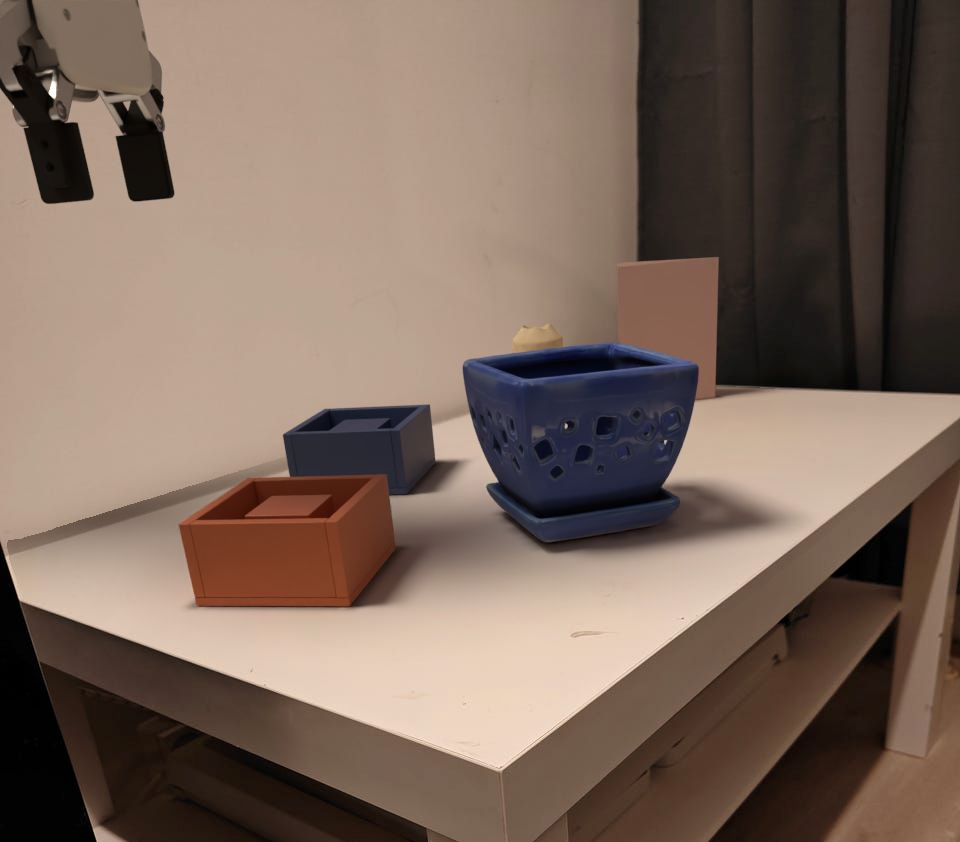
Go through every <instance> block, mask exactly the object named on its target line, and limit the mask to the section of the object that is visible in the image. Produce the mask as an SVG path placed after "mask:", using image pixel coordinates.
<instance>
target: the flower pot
mask: <svg viewBox="0 0 960 842" xmlns="http://www.w3.org/2000/svg"><path fill="white" fill-rule="evenodd" d="M698 376H699V367H698V365H697V364H696V363H694V362H691V361H688V360H685V359H681V358H678V357H675V356H671V355H667V354H664V353H660V352H656V351H652V350H648V349H644V348H640V347H636V346H632V345H627V344H621V343H619V342H604V343H593V344H579V345H577V344H576V345H569V346H563V347H560V348H551V349H543V350H535V351H527V352H520V353H513V352H512V353H506V354H496V355H490V356H483V357H477V358H469V359H466V360H465V361H464V362H463V364H462V378H463V384H464V389H465V390H464V391H465V396H466V400H467V401H466V402H467V405H468V410H469V415H470V419H471V422H472V425H473V429H474V432H475V434H476V438H477V441H478V443H479V446H480V448H481V450H482V453H483V455H484V458H485V459H486V462H487V464H488V466H489V468H490V469H491V471H492V473H493V475H494V477H495V478H496V480H497V482H489V483H487V484H486V486H485V488H486V491H487V493H488V495H489V496H490V497H491V498H492V500H493V501H494V503H496V504H497V505H498V506H499V507H500V508H501V509H502V510H503V511H504V512H506V514H508V515H509V516H510V517H512V519H514V521H516V522H517V523H519V524H520V525H521V526H522V527H523V528H524V529H526V530H527V531H528V532H529V533H531V534H532V535H533V536H534V537H536V538H537V539H538V540H540V541H541V542H543V543H545V544H550V543H555V542H561V541H568V540H575V539H582V538H589V537H594V536H600V535H601V536H602V535H607V534H612V533H617V532H618V533H619V532H625V531H630V530H635V529H641V528H650V527H652V526H656V525H659V524H662V523H663V522H665V521H666V520H668V519H669V518H670V517H672V515H673V514H674V513H675V512H676V511H677V510H678V509H679V507H680V505H681V503H682V500H681V497H679V496H678V495H676V494H674V493H673V492H671V491H669V490H667V489H665V488H663V486H664V484H665V483H666V481H667V480H668V478H669V476H670V474H671V473H672V471H673V469H674V467H675V465H676V464H677V463H676V462H677V460H678V459H679V456H680V454H681V451H682V448H683V445H684V443H685V440H686V437H687V435H688V431H689V428H690V424H691V420H692V417H693V411H694V408H695V407H694V406H695V403H696V399H695V397H696V392H697V385H698ZM665 441H666V442H665Z"/></svg>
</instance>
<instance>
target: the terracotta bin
mask: <svg viewBox="0 0 960 842" xmlns="http://www.w3.org/2000/svg"><path fill="white" fill-rule="evenodd" d="M292 495H332V497H333V504H334V511H335V513H334V514H333V515H332V516H331V517H330V518H305V519H245V515H247V514H248V513H249V512H251V511H252V510H253V509H255V508H256V507H257V506H259V505H260V504H261V503H263V502H264V501H265V500H267V499H268V498H270V497H271V496H292ZM393 522H394V521H393V513H392V505H391V498H390V495H389V489H388V481H387V474H377V475H342V476H304V477H290V476H271V477H269V476H267V477H266V476H265V477H247V478H246V479H244V480H243V481H241V482H240V483H238V484H237V485H235V486H234V487H232V488H230V489H229V490H228V491H226V492H225V493H223V494H222V495H220V496H218V497H217V498H215V499H214V500H213V501H211V502H210V503H208V504H206V505H205V506H204V507H202V508H201V509H199V510H198V511H196V512H195V513H193V514H191V515H190V516H188V517H187V518H185V519H184V520H183V521H181V522H179V523H178V529H179V535H180V538H181V543H182V547H183V551H184V556H185V560H186V564H187V569H188V574H189V578H190V582H191V586H192V591H193V596H194V600H195V605H196V607H197V606H199V607H203V606H205V607H206V606H207V607H210V606H211V607H351V606H352V604H353V603H354V602H355V600H357V598H358V597H359V596H360V594H361V593H362V592H363V591H364V589H365V588H366V587H367V586H368V584H370V582H371V581H372V580H373V578H374V577H375V576H376V575H377V573H378V572H379V571H380V569H381V568H382V567H383V566H384V565H385V563H386V562H387V561H388V560H389V559H390V557H391V556H392V555H393V553H394V552H395V551H396V549H397V547H396V538H395V531H394V523H393Z"/></svg>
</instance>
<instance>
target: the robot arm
mask: <svg viewBox="0 0 960 842" xmlns="http://www.w3.org/2000/svg"><path fill="white" fill-rule="evenodd" d="M162 70H163V69H162V66H161V63H160V62H159V60H158V59H157V58H156V56H154V54H153V53H152V52H151V51H150V50H149V44H148V40H147V35H146V30H145V25H144V21H143V16H142V12H141V7H140V3H139V0H0V90H1V92H2V93H3V95H5V97H6V98H7V100H8V101H9V102H10V104H11V105H12V108H11V109H12V115H13V119H14V120H15V122H16V124H17V125H18V126H19V127H21V128H23V133H24V136H25V137H24V138H25V140H26V141H25V142H26V144H27V149H28V152H29V157H30V160H31V164H32V168H33V172H34V176H35V181H36V184H37V188H38V192H39V196H40V200H41V201H42V202H43V203H44V204H47V205H54V204H55V205H57V204H66V203H75V202H76V203H77V202H86V201H91V200H93V199H94V197H95V192H94V187H93V182H92V179H91V174H90V170H89V166H88V161H87V157H86V152H85V148H84V144H83V143H84V142H83V140H82V135H81V131H80V127H79V122H76V121H71V122H68V120H69V117H70V112H71V108H72V103H73V102H74V103H75V102H77V103H93V102H95V101H97V100H98V98H99V97H100V98H101V100H102V102H103V103H104V106H105V107H106V109H107V111H108V112H109V114H110V116H111V117H112V119H113V121H114V122H115V124H116V125H117V128H118V129H119V131H120V132H121V135H115V140H116V145H117V150H118V155H119V160H120V164H121V168H122V173H123V178H124V183H125V186H126V191H127V192H126V193H127V196H128V198H129V200H130V201H131V202H135V203H137V202H147V201H149V202H150V201H158V200H168V199H173V198H174V196H175V187H174V183H173V178H172V177H173V176H172V173H171V167H170V162H169V158H168V151H167V147H166V141H165V137H164V132H165V130H166V124H165V123H166V122H165V119H164V117H163V111H164V104H165V101H164V95H163V93H162V82H163V72H162ZM125 102H130V103H129V106H128V108H127V106H126V105H125Z"/></svg>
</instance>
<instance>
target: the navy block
mask: <svg viewBox="0 0 960 842" xmlns="http://www.w3.org/2000/svg"><path fill="white" fill-rule="evenodd" d="M390 428H392V427H391V419H390V418H379V419H354V420H344V421H342V422H341V423H339V424H338V425H337V426H335V427H334V428H332V429H331V430H329V431H336V430H363V429H390Z"/></svg>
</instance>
